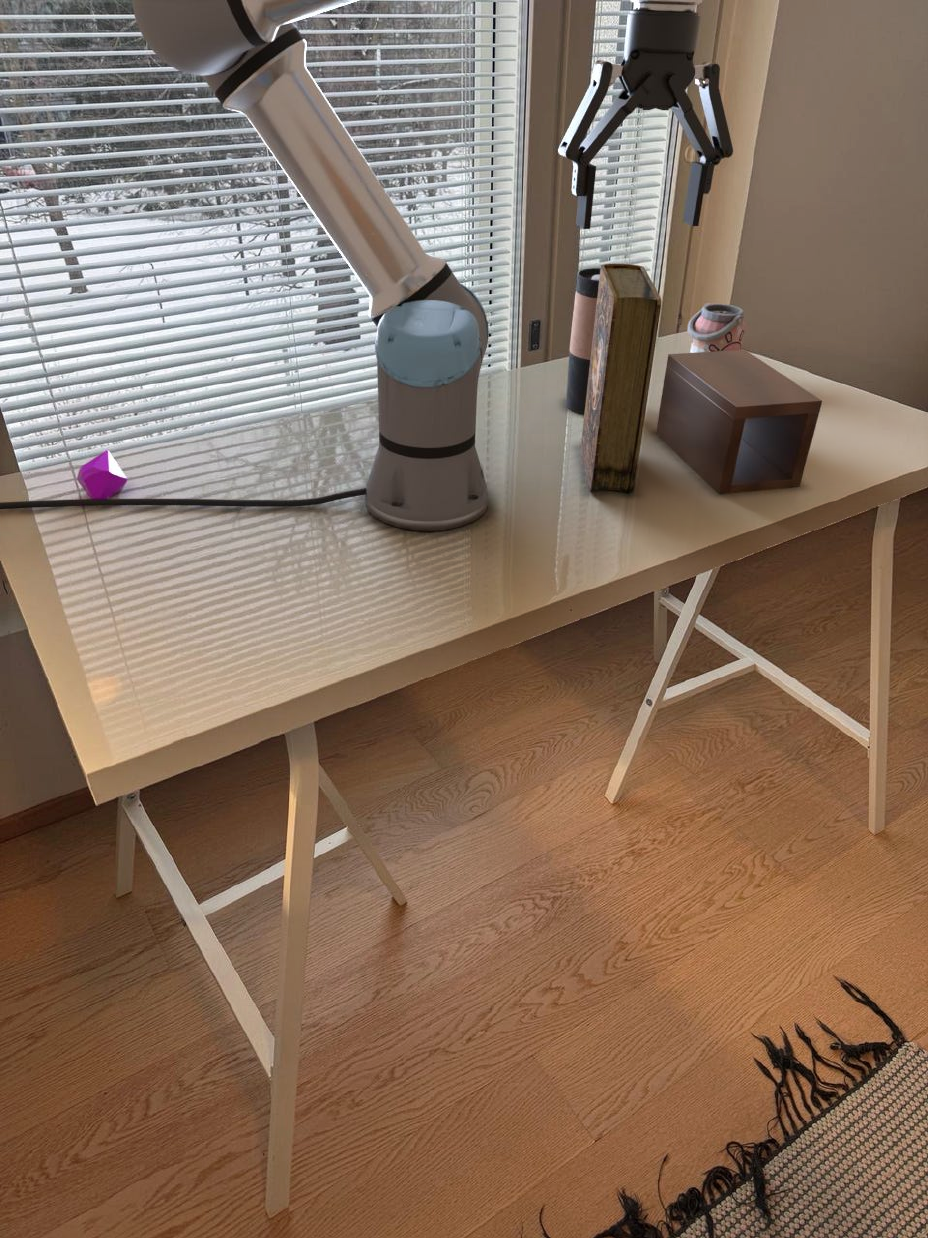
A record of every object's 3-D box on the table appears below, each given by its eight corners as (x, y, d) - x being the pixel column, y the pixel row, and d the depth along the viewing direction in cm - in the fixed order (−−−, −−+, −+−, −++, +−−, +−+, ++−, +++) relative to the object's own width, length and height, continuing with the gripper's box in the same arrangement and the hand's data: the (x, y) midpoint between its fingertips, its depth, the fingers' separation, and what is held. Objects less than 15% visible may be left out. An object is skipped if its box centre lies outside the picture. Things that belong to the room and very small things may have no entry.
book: (579, 443, 132) (599, 262, 118) (617, 445, 132) (642, 264, 118) (590, 495, 119) (614, 298, 105) (632, 497, 119) (662, 299, 105)
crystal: (77, 491, 116) (69, 457, 113) (119, 480, 118) (113, 447, 116) (92, 507, 112) (84, 473, 110) (135, 496, 115) (129, 462, 113)
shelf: (718, 494, 120) (736, 406, 114) (655, 433, 136) (668, 353, 129) (800, 486, 123) (822, 400, 116) (728, 428, 139) (744, 349, 132)
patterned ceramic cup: (702, 394, 150) (716, 320, 144) (669, 377, 156) (681, 305, 150) (745, 385, 154) (760, 313, 147) (711, 369, 160) (724, 299, 153)
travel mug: (559, 411, 142) (572, 278, 131) (569, 394, 148) (582, 265, 137) (608, 418, 141) (625, 283, 129) (616, 401, 147) (633, 270, 135)
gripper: (563, 5, 90) (546, 234, 102) (790, 12, 96) (748, 229, 108) (539, 3, 96) (526, 220, 108) (754, 9, 102) (718, 215, 114)
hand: (637, 225), depth 108 cm, fingers open, 13 cm apart
